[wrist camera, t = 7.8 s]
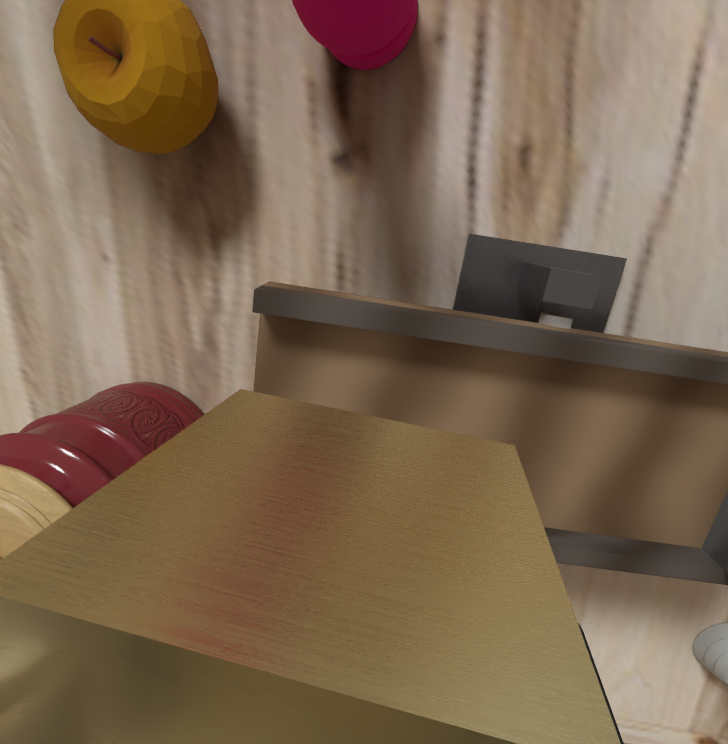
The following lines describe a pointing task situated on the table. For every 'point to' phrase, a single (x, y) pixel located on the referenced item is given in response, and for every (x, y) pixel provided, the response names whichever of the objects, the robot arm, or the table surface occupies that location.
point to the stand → (537, 282)
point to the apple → (137, 70)
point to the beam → (532, 414)
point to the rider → (298, 595)
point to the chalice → (713, 650)
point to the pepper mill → (360, 28)
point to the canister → (82, 453)
